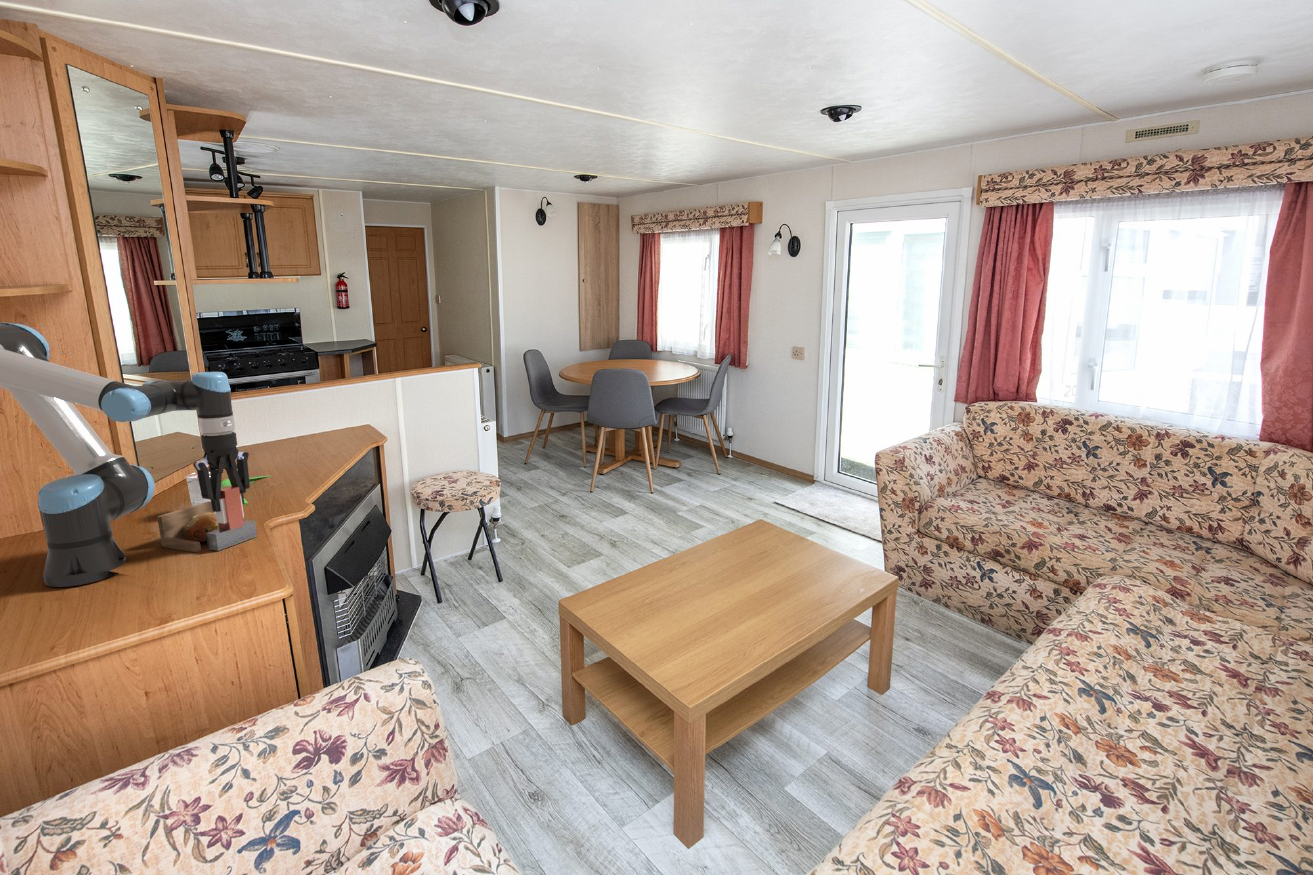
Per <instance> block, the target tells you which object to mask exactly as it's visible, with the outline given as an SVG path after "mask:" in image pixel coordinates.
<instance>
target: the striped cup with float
mask: <svg viewBox="0 0 1313 875" xmlns="http://www.w3.org/2000/svg"><path fill="white" fill-rule="evenodd" d="M209 476H210V472H209ZM184 478H185V479H186V484H187V488H188V493H189V499H190V502H191V506H195V505H198V504H201V503H205V502H208V501H211V500H210V499H203V498H202V495H201V490H200V485H199V479H198V474H197V472H192V473H190V474H186V475H185V476H184Z"/></svg>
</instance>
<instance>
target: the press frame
mask: <svg viewBox="0 0 1313 875" xmlns="http://www.w3.org/2000/svg"><path fill="white" fill-rule="evenodd" d="M208 512H210V513H215V512H213V510H212V504H211V501H208V502H205V503H201V504H198V505H195V506H192V505H191V506H187V507H185V508H182V509H178V510H175V511H171V512H168V513H164V514H161V515H158V516H157V517H156V518H157V524H158V531H159V535H160V541H161V546H163V548H168V549H174V550H179V551H185V552H190V553H191V552H192V553H199V552H201V551H202V547H201V542H197V541H190V540H187V539H186V537H185V534H184V527H185V525H186V524H187V522H188V521H189V520H191V518H192V517H193V516H196V515H200V514H203V513H208Z"/></svg>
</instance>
